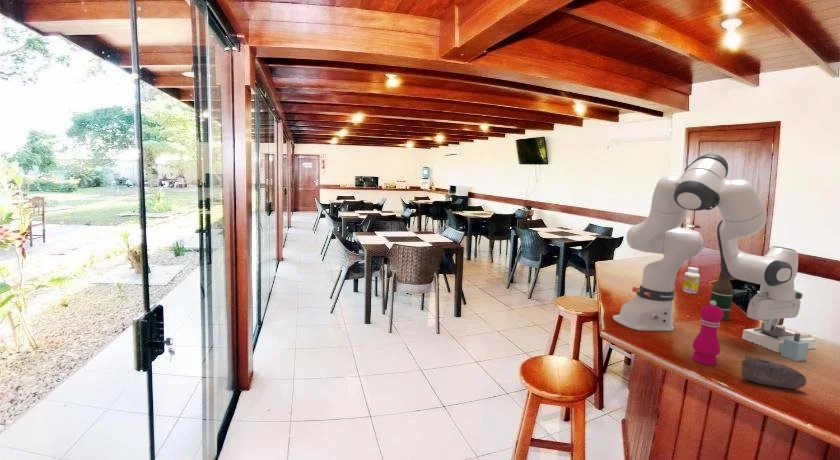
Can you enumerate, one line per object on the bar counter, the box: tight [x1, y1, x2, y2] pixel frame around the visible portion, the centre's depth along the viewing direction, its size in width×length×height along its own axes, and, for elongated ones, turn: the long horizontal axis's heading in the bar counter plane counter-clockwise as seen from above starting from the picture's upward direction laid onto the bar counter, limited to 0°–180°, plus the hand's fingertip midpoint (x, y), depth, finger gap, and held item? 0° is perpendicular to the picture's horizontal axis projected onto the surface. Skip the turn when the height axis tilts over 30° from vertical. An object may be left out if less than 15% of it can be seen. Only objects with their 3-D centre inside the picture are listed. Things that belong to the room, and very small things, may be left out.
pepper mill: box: [692, 300, 723, 366], centre depth 129 cm, size 7×7×20 cm
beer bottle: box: [708, 269, 734, 321], centre depth 173 cm, size 8×8×24 cm
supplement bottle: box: [682, 266, 701, 294], centre depth 212 cm, size 7×7×13 cm
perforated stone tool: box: [740, 355, 807, 390], centre depth 116 cm, size 15×5×7 cm, turn 63°
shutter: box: [760, 321, 795, 337], centre depth 147 cm, size 7×7×3 cm
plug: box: [781, 332, 809, 362], centre depth 136 cm, size 4×4×8 cm
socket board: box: [741, 325, 817, 353], centre depth 148 cm, size 18×12×4 cm, turn 106°
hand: (769, 330), depth 146 cm, fingers closed
